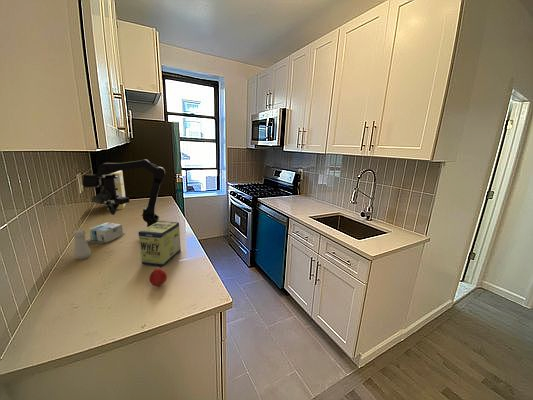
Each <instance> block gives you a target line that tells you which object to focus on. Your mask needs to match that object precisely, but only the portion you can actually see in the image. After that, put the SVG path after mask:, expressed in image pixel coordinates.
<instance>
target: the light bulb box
mask: <svg viewBox="0 0 533 400" xmlns="http://www.w3.org/2000/svg"><path fill="white" fill-rule="evenodd" d="M88 230H89V236H90V238H91V240H96V241H102V242H107V243H109V242H111V241H113V240H115V239H117V237H118V238H120V237H122V236H124V235H123V233H124V230H123V224H119V223H112V222H109V221H108V222H104V223H102V224H98V225H96V226H92V227H89V228H88ZM90 238H89V239H90Z"/></svg>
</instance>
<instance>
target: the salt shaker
mask: <svg viewBox="0 0 533 400" xmlns="http://www.w3.org/2000/svg"><path fill="white" fill-rule="evenodd" d="M72 236H73V237H74V239H75V241H74V257H75V258H76V259H77V260H80V261H81V260H85V259H88V258H89V257H90V255H91V248H90V246H89V245H88V242H87V241H86V240H87V239H86V237H85V236H86V231H85V230H84V229H78V230H75V231H73V232H72Z"/></svg>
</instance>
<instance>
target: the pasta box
mask: <svg viewBox="0 0 533 400" xmlns="http://www.w3.org/2000/svg"><path fill="white" fill-rule="evenodd" d="M123 173H124V172H123V170H120V171H117V172H114V173H111V174H108V175H113V174H116V175H117V176H118V178H116V179H114V180H115V187H116V188H118V190H116V194H117V195H119V197H117V198H120V197H126V190H125V182H124V174H123ZM105 176H106V175H103V176H102V177H105ZM112 200H113V199H112ZM126 205H127V203H125V204H121V205H118V207H117V210H124V209H125V207H126ZM106 208H107V207H106ZM106 210H108V211H109V209H108V208H107V209H106Z"/></svg>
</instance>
